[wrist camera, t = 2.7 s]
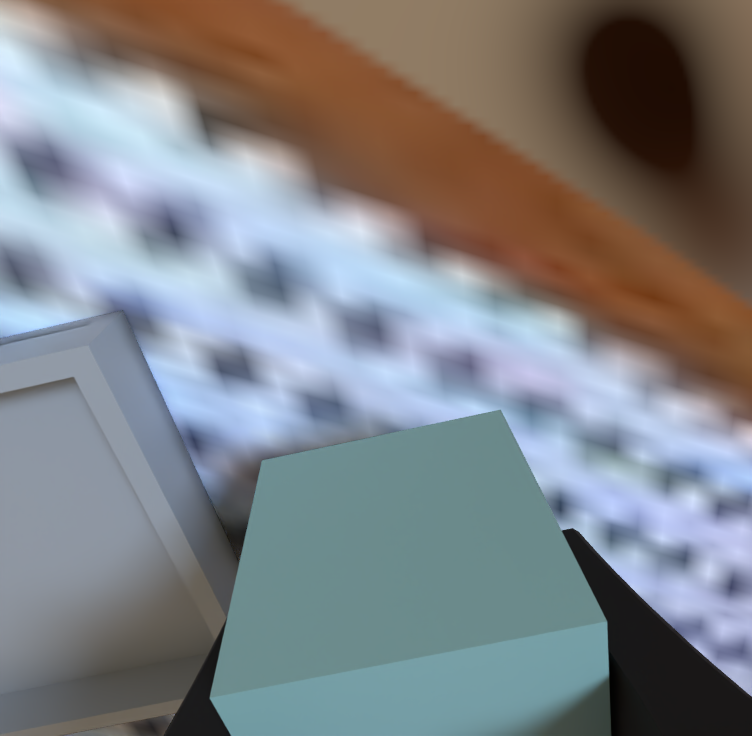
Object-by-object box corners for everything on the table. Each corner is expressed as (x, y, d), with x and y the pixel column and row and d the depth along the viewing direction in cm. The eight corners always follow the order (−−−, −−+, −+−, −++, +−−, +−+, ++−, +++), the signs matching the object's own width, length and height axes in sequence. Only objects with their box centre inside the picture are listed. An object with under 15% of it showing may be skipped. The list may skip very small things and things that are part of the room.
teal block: (523, 581, 12) (613, 827, 8) (322, 620, 12) (314, 879, 8) (500, 409, 10) (607, 621, 6) (262, 460, 10) (210, 697, 6)
